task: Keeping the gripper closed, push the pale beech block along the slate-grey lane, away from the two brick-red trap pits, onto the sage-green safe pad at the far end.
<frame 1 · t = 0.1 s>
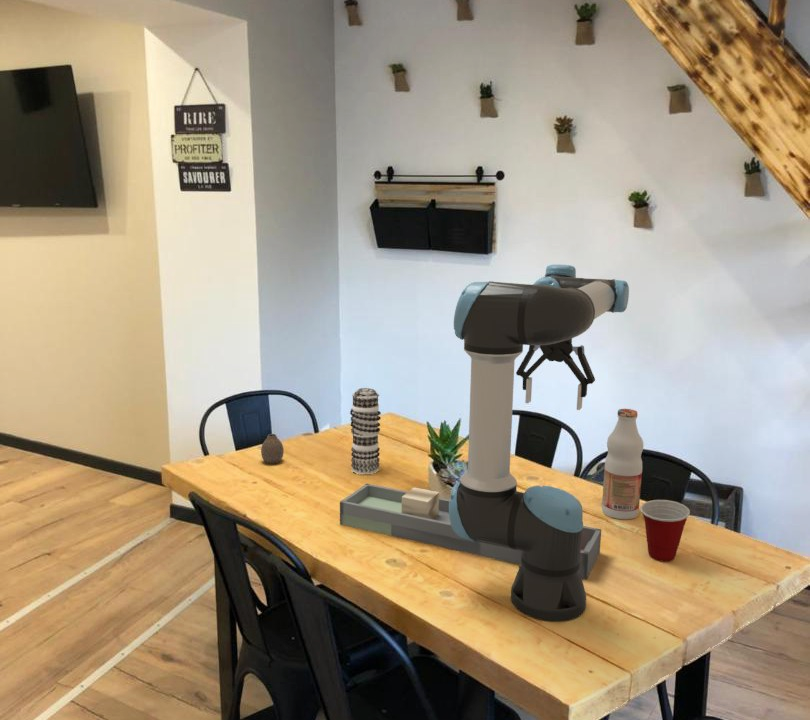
hand: (553, 405, 197), 28 cm above the table, tool pointing down, fingers open, 13 cm apart
beech block: (420, 517, 187), point 3 cm above the table, touching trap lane
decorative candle: (365, 470, 227), on the table
plastic cup: (660, 557, 174), on the table
vase: (272, 462, 233), on the table
fruit juice: (619, 513, 198), on the table
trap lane: (464, 538, 182), on the table
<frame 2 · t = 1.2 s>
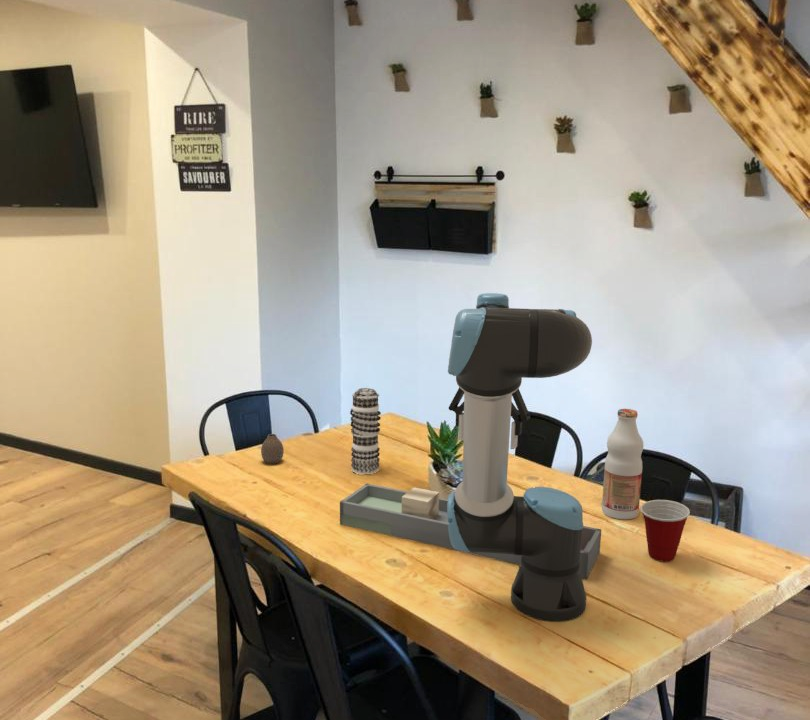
hand: (487, 443, 184), 22 cm above the table, tool pointing down, fingers open, 13 cm apart
nothing on the table moved.
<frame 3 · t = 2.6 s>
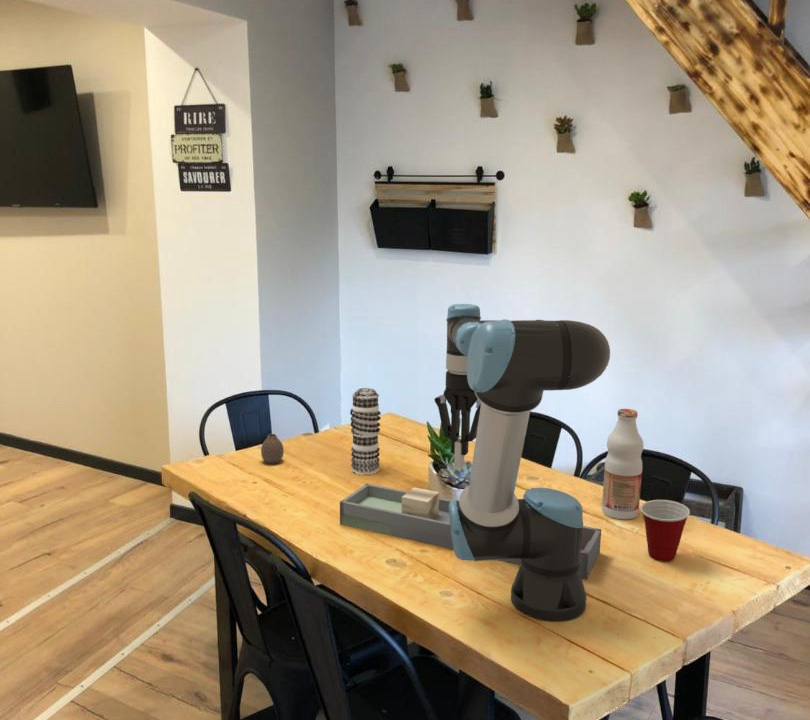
hand: (459, 466, 179), 18 cm above the table, tool pointing down, fingers closed
nothing on the table moved.
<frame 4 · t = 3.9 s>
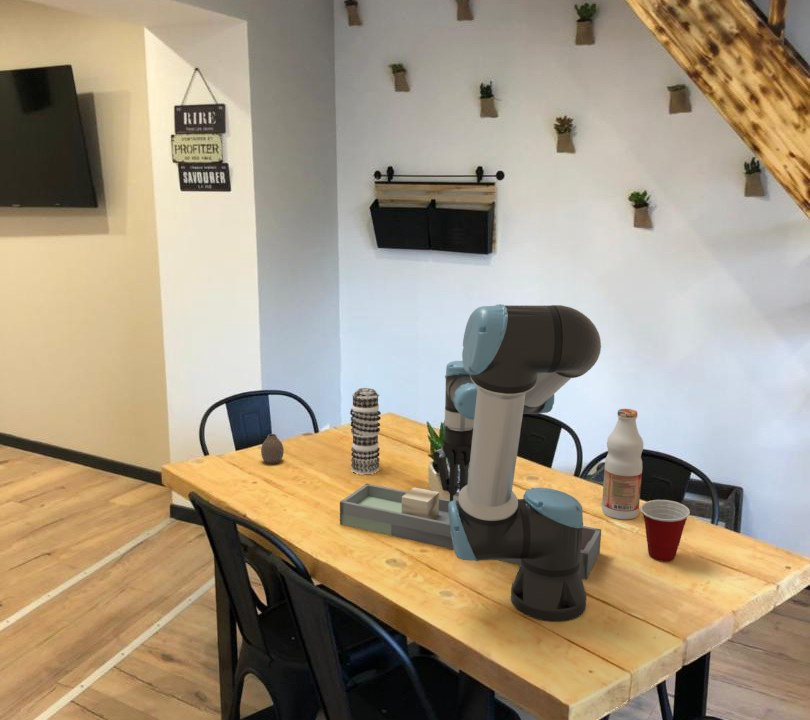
hand: (457, 519, 182), 4 cm above the table, tool pointing down, fingers closed
nothing on the table moved.
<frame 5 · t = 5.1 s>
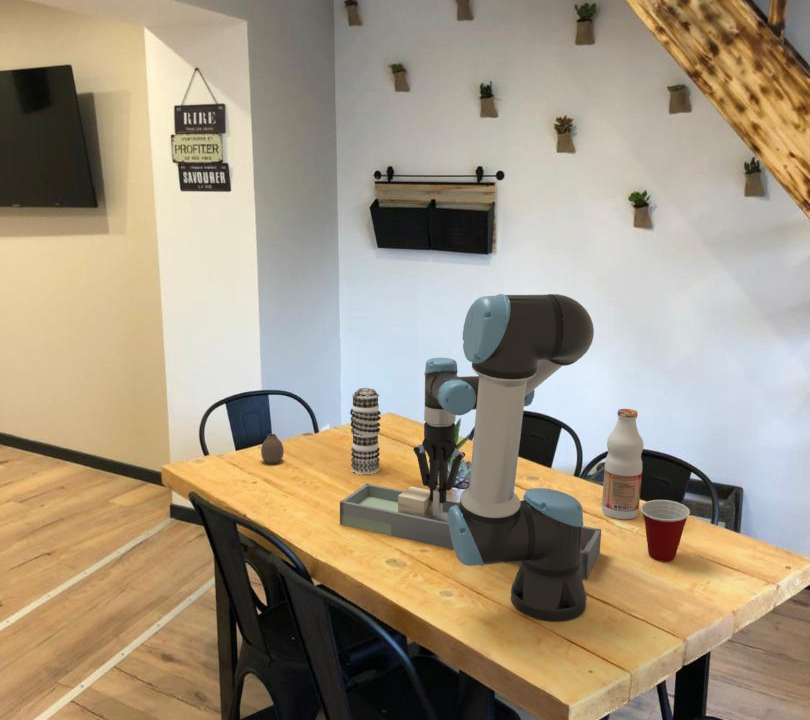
hand: (437, 514, 185), 5 cm above the table, tool pointing down, fingers closed
beech block: (416, 516, 187), point 3 cm above the table, touching gripper
everything else where it was.
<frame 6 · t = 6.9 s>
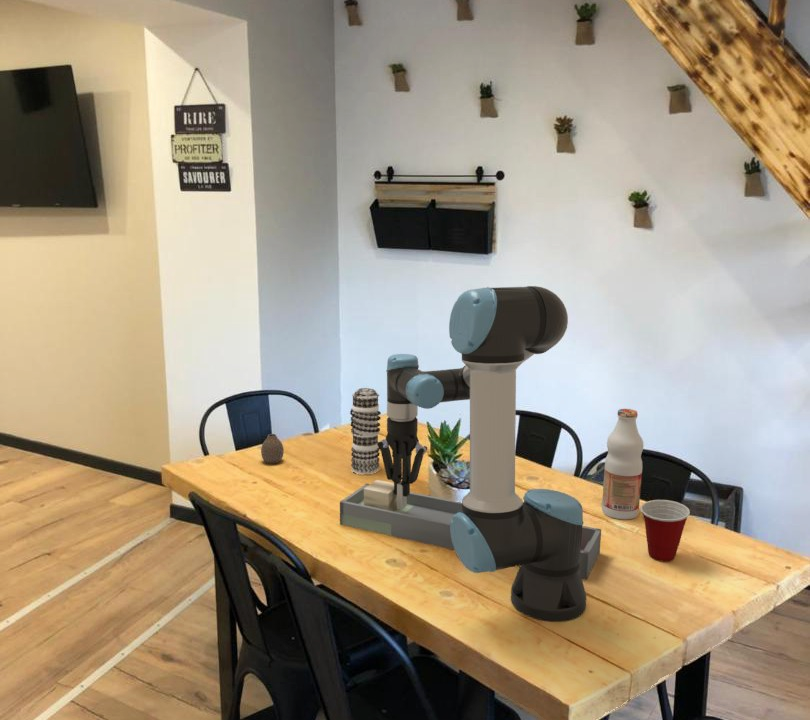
hand: (401, 507, 189), 5 cm above the table, tool pointing down, fingers closed
beech block: (382, 508, 191), point 3 cm above the table, touching gripper, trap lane
everything else where it was.
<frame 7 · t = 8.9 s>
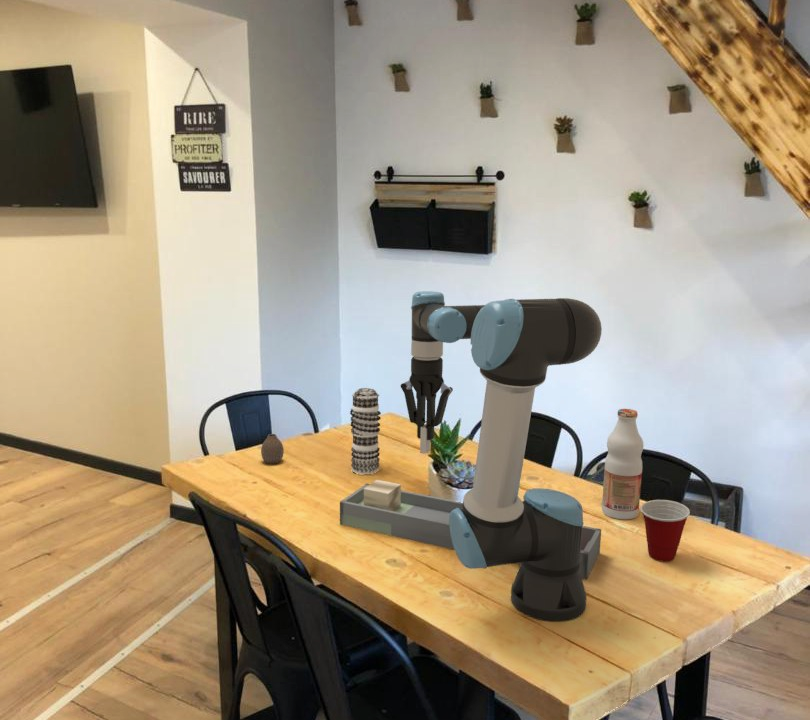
hand: (425, 451, 183), 20 cm above the table, tool pointing down, fingers closed
beech block: (382, 508, 191), point 3 cm above the table, touching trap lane
everything else where it was.
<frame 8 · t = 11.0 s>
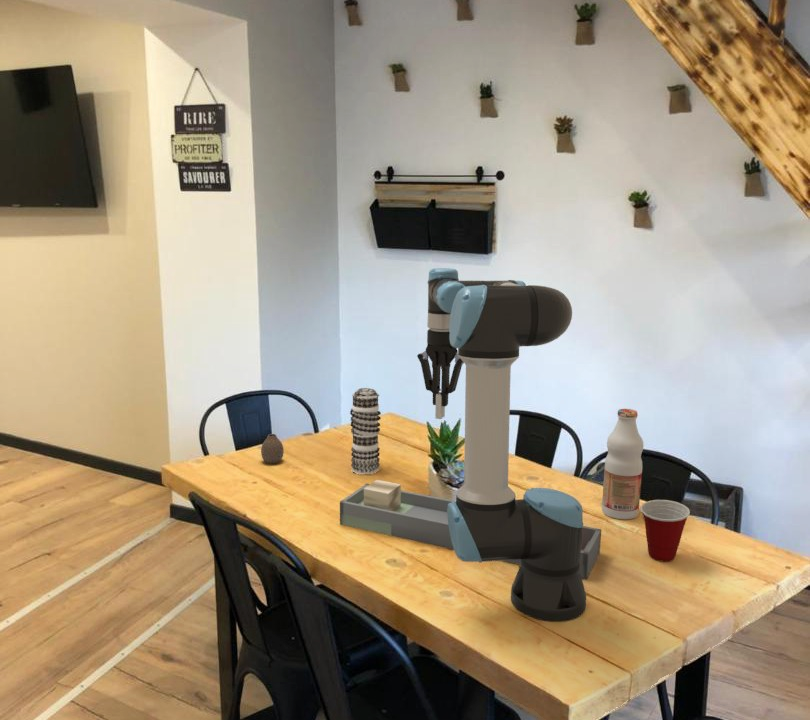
hand: (440, 417, 197), 24 cm above the table, tool pointing down, fingers closed
nothing on the table moved.
at the end: beech block inside the target area on the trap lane (1.5 cm from its centre), point 3.0 cm above the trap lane's base; beech block tilted 0° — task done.
